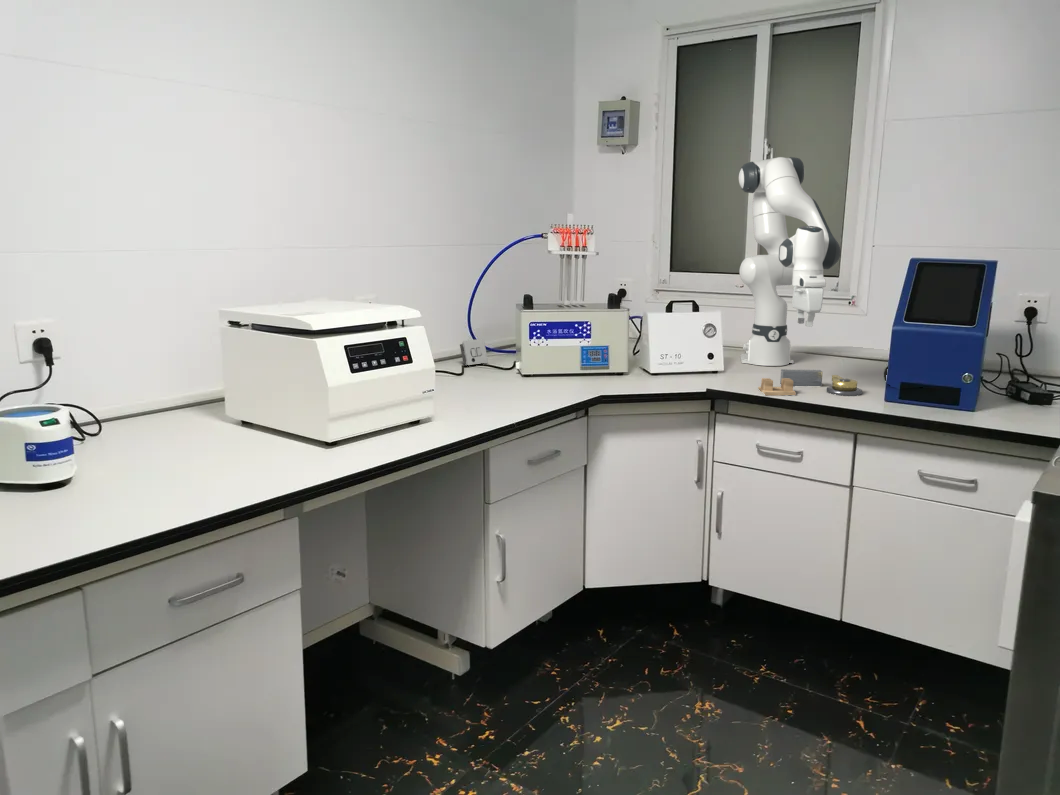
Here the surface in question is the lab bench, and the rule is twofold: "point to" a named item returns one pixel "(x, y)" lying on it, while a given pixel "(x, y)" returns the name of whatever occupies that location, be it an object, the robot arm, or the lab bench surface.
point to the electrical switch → (473, 352)
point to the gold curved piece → (843, 383)
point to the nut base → (844, 392)
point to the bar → (803, 377)
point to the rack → (783, 390)
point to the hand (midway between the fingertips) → (804, 325)
